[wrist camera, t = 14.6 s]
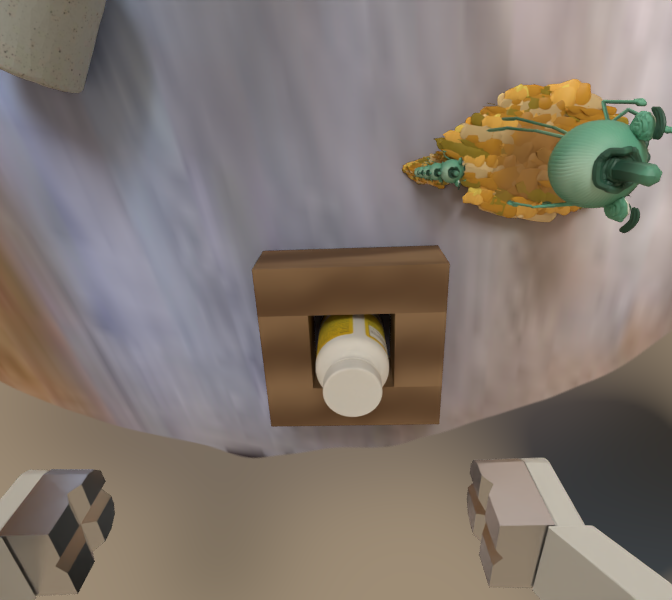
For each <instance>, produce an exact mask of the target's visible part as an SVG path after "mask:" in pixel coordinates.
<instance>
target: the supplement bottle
mask: <svg viewBox="0 0 672 600" xmlns="http://www.w3.org/2000/svg"><path fill="white" fill-rule="evenodd" d="M388 374H389V359H388V353H387V347H386V341H385V335H384V328H383V322H382V319H381V317H380V314H355V315H323V317H322V319H321V323H320V330H319V337H318V347H317V356H316V376H317V379H318V381H319V383H320V385H321V386H322V387H323V397H324V400H325V402H326V404H327V405H328V406H329V408H330V409H331V410H333V411H334V412H336V413H338V414H340V415H343V416H347V417H358V416H363V415H366V414H368V413H370V412H371V411H373V410H374V409H375V408H376V407H377V406H378V404H379V403H380V401H381V398H382V387H383V386H384V384H385V383H386V380H387V378H388Z"/></svg>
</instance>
